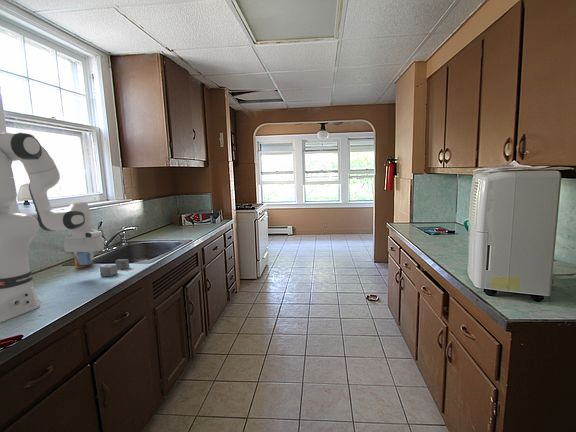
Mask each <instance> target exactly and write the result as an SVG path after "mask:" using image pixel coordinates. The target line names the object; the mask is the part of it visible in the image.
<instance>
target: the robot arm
mask: <svg viewBox="0 0 576 432" xmlns="http://www.w3.org/2000/svg"><path fill="white" fill-rule="evenodd" d="M16 161H19V162H21V163H22V164H23V167H24V169H25V172H26V173H27V176H28V179H29V183H28V190H29V194H30V198H31V200H32V203H33V206H34V208H35V211H36V215H37V218H36V217H35V216H33V215H30V214H26V213H22V212H21V213H20V212H19V213H18V212H17V213H16V212H15V213H11V212H10V209H11V208H10V207H11V204H12V203H13V202H14V201H15V200H16V199H17V196H18V192H17V189H16V182H15V178H14V173H13V169H12V163H13V162H16ZM60 179H61V176H60V172H59V169H58V167H57V165H56V163H55V161H54V159H53V158H52V156H51V154H50V153H49V151H48V150H47V148H46V147H45V146H44V145H42V144H41V142H40V141H39V139H38V138H37V137H35V135H32V134H31V133H28V132H27V133H26V132H1V133H0V324H1V323H3V322H5V321H8V320H10V319H13V318H16V317H18V316H21V315H23V314H26V313H29V312H31V311H33V310H36V309H38V308H40V307H41V301H40V299H39V297H38V294H37V292H36V289H35V287H34V284H33V279H34V278H33V277H34V276H33V273H32V270H31V268H30V262H29V248H30V245H31V242H32V240H33V239H34V238H35V237H37V236H38V233H39V230H40V228H41V229H42V230H44V231H46V232H54V231H69V230H70V231H71V233H67V234H65V235H64V240H63V241H64V243H63V248H64V252H66V253H67V252H69V253H72V252H73V255H74V254H75V255H76V257H77V260H78V253H80V252H90V256H89V257H88V258H89V260H93V261H94V256H95V254H96V252H102V251H104V250H105V241H104V238H103V237H102V235H103V232H102V231H100V230H97V229H94V228H93V225H92V223H91V222H92V214H91V209H90V208H91V207H90V205H89V204H88V203H86V202H83V201H82V202H81V201H74V202H70V205H69V206H68V207H66V208H65V209H61V210H55V209H53V208H52V206H51V203H50V200H49V197H48V191H49V189H51V188H53V187H55V186H56V185H57V184H58V182H60Z"/></svg>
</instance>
